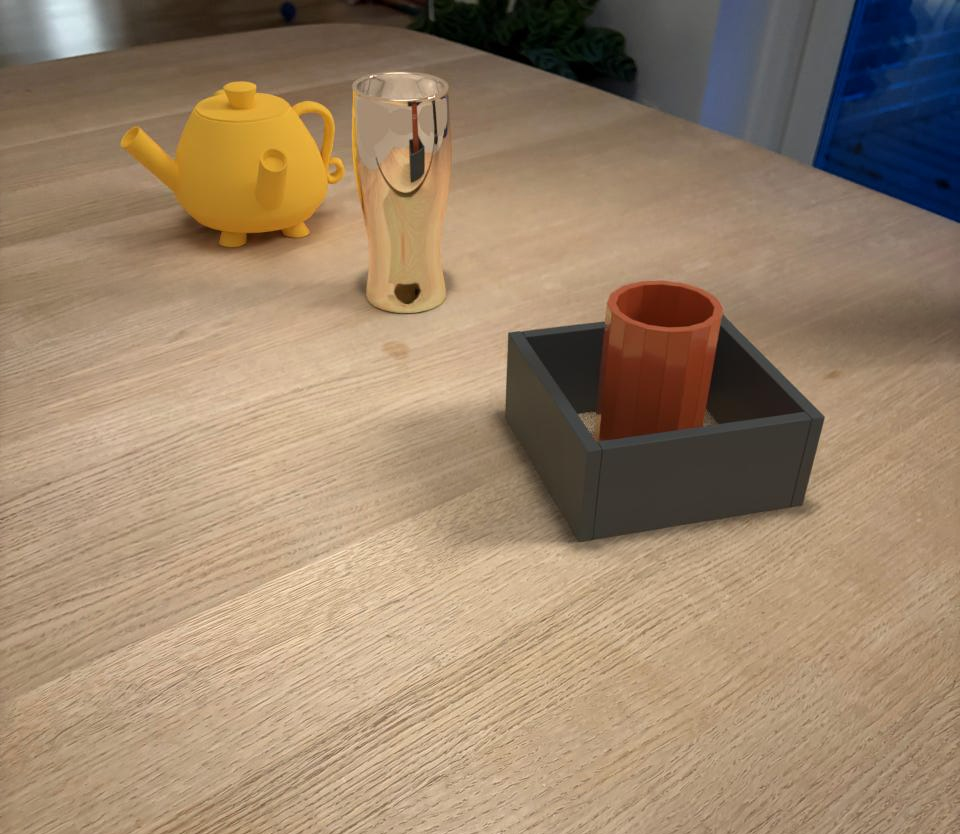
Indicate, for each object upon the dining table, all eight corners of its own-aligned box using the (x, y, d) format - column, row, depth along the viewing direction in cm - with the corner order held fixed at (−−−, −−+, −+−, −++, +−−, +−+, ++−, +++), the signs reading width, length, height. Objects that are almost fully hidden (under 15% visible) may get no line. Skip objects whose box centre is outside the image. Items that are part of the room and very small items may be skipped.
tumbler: (679, 431, 70) (703, 277, 64) (708, 487, 66) (737, 327, 59) (582, 437, 69) (596, 283, 63) (605, 494, 65) (623, 333, 58)
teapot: (133, 243, 92) (106, 98, 85) (219, 188, 102) (201, 53, 94) (289, 273, 89) (275, 125, 81) (363, 212, 98) (357, 75, 91)
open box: (700, 403, 74) (716, 307, 70) (799, 520, 65) (825, 416, 60) (504, 431, 71) (507, 332, 67) (577, 557, 62) (587, 451, 57)
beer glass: (374, 272, 89) (365, 66, 79) (460, 281, 88) (461, 74, 78) (349, 311, 84) (335, 96, 74) (440, 321, 83) (438, 104, 73)
